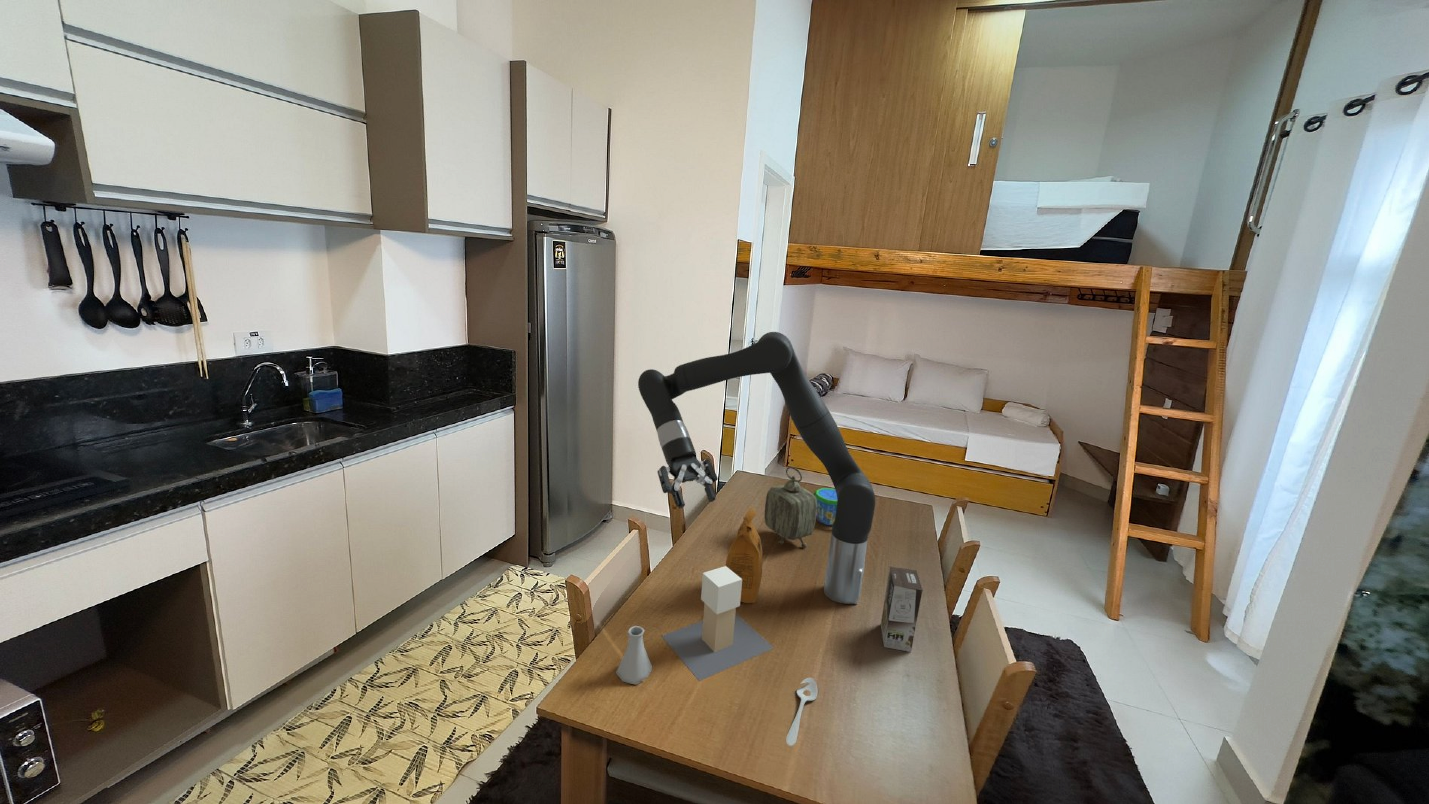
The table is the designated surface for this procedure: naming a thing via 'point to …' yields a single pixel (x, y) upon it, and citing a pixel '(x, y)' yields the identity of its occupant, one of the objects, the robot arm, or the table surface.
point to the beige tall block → (718, 628)
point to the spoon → (794, 728)
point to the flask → (634, 659)
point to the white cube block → (721, 589)
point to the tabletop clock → (791, 510)
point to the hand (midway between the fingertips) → (697, 503)
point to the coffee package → (747, 558)
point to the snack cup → (826, 505)
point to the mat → (710, 662)
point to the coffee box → (901, 608)
